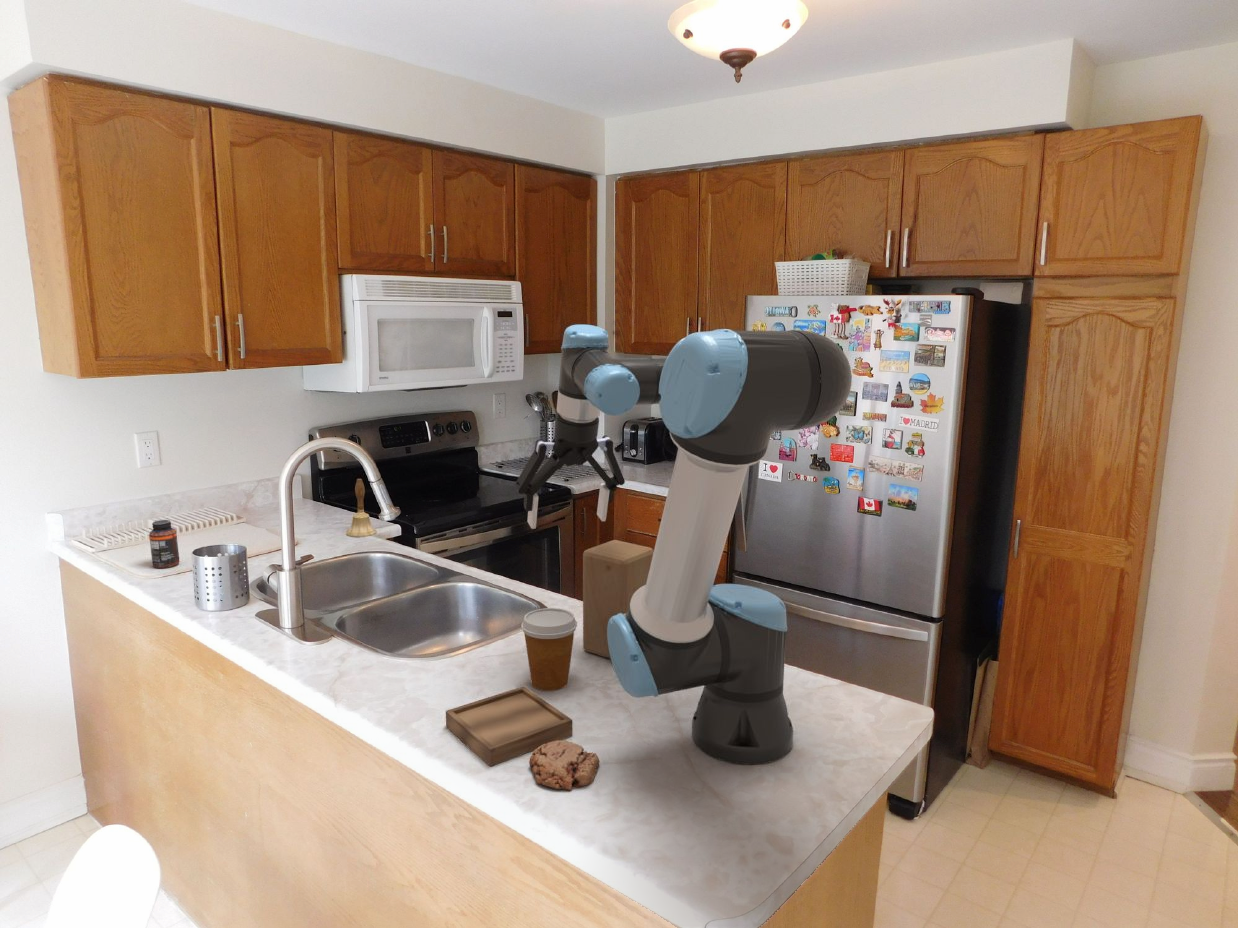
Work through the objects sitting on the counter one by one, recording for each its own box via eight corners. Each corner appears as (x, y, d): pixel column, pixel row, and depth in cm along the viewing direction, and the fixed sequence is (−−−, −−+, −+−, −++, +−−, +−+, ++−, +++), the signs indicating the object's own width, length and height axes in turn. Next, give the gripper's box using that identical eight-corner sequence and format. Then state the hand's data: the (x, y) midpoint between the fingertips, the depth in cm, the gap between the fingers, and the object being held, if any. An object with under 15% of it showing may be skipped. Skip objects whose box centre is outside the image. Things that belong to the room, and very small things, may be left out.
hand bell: (382, 530, 236) (379, 476, 233) (367, 538, 228) (364, 482, 225) (356, 528, 238) (353, 475, 235) (340, 536, 230) (337, 481, 227)
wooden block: (623, 665, 148) (624, 559, 144) (580, 651, 153) (580, 549, 150) (654, 647, 155) (656, 547, 152) (613, 634, 161) (613, 537, 158)
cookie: (560, 744, 121) (559, 726, 120) (614, 770, 114) (614, 750, 114) (510, 772, 113) (510, 753, 113) (565, 801, 107) (565, 781, 106)
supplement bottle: (172, 560, 207) (168, 517, 205) (184, 564, 203) (180, 520, 201) (148, 566, 202) (143, 522, 200) (159, 570, 198) (155, 525, 196)
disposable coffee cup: (523, 697, 135) (522, 629, 133) (521, 672, 144) (520, 608, 142) (580, 693, 137) (580, 626, 134) (574, 669, 146) (574, 605, 144)
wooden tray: (572, 735, 123) (572, 719, 123) (490, 766, 115) (490, 749, 114) (524, 700, 134) (523, 685, 133) (446, 726, 125) (445, 710, 125)
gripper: (634, 403, 148) (621, 505, 157) (501, 409, 138) (495, 517, 147) (652, 419, 142) (636, 524, 151) (514, 427, 132) (506, 538, 141)
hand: (567, 521), depth 149 cm, fingers open, 13 cm apart
